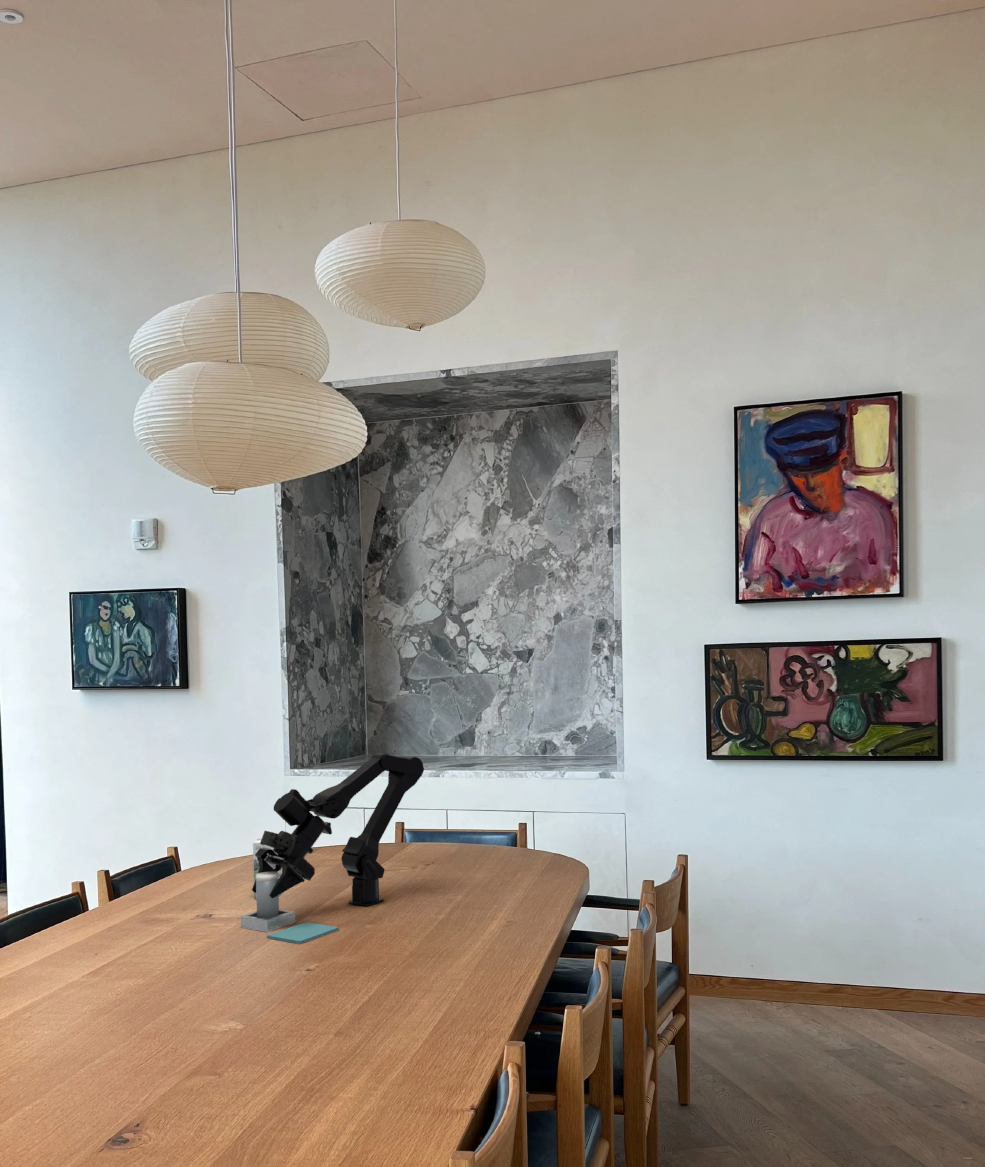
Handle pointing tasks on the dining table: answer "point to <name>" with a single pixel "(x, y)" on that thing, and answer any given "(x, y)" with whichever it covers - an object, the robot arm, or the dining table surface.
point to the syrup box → (256, 864)
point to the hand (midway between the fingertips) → (262, 894)
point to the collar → (268, 921)
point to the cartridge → (266, 895)
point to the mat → (302, 932)
